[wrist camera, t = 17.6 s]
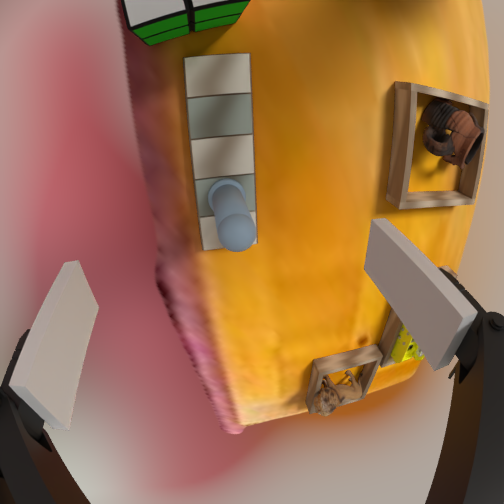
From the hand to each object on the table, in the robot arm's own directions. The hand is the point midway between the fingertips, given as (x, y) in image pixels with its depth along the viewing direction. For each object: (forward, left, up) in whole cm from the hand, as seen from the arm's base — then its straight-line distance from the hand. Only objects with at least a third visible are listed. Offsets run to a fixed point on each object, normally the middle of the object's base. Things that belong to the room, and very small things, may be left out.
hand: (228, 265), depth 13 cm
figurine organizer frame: (-23, +49, -23) cm, 59 cm away
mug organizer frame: (-33, 0, -23) cm, 40 cm away
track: (-2, +1, -23) cm, 23 cm away
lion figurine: (-21, +49, -24) cm, 59 cm away
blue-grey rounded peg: (-2, +5, -22) cm, 23 cm away
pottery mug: (-33, -3, -24) cm, 41 cm away
